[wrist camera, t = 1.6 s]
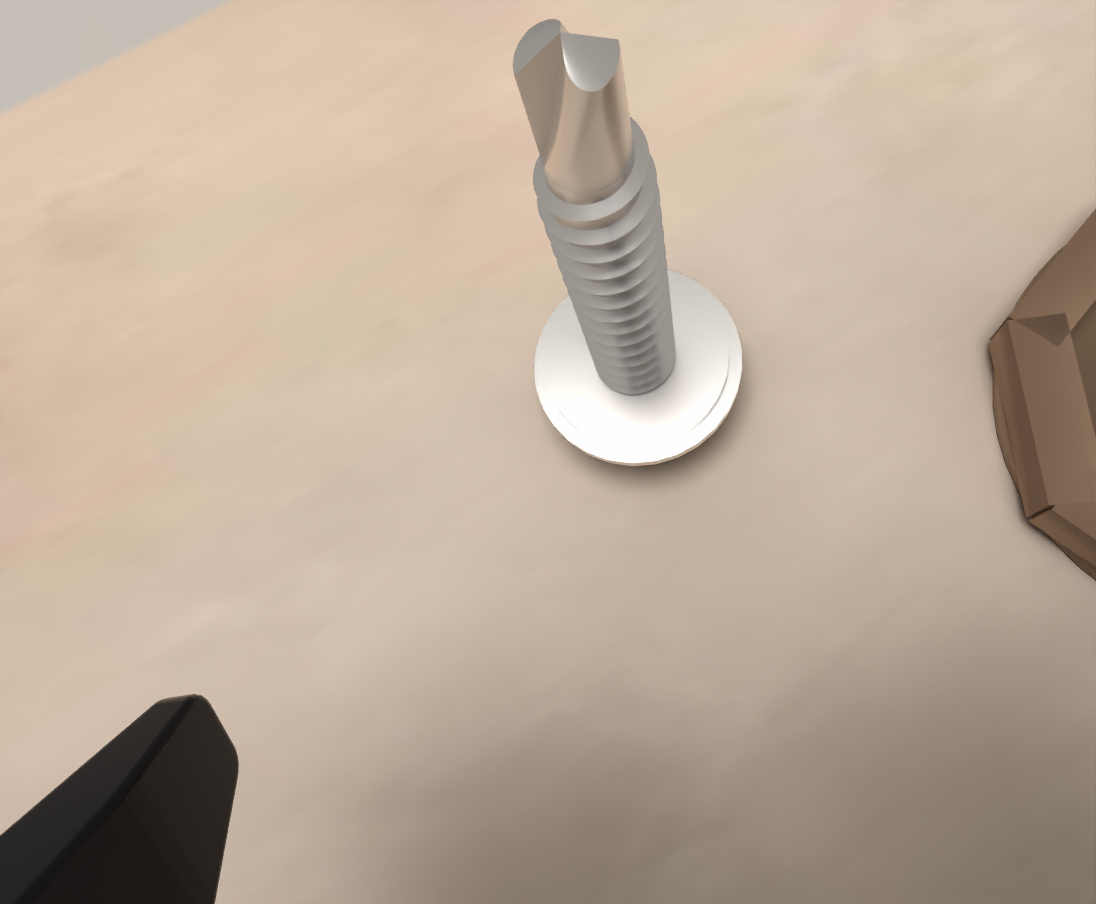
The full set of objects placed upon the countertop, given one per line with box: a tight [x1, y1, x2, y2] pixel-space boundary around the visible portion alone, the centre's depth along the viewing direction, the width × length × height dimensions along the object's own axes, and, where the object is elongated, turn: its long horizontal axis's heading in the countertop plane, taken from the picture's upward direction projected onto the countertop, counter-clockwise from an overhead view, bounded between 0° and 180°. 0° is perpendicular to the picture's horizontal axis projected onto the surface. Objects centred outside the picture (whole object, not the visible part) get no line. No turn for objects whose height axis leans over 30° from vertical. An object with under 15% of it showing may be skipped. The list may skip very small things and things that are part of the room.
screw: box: [513, 19, 742, 466], centre depth 16 cm, size 13×5×5 cm
